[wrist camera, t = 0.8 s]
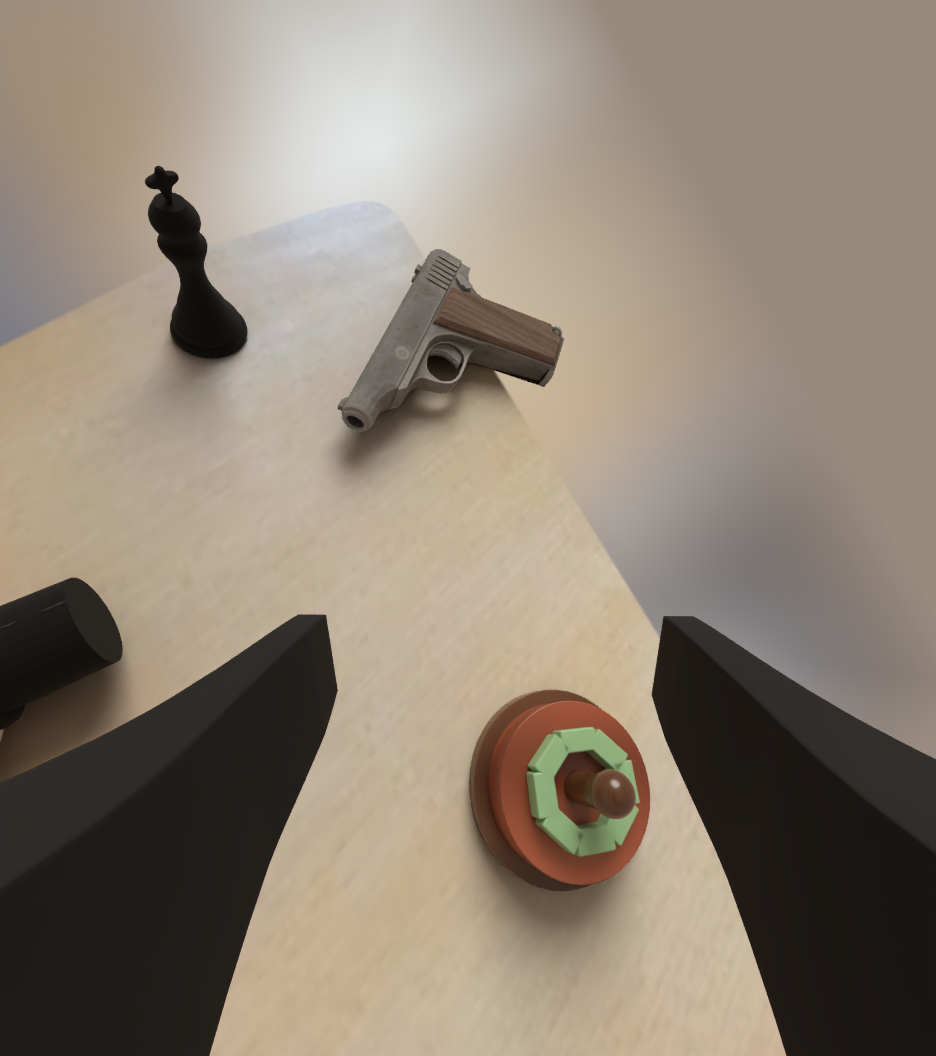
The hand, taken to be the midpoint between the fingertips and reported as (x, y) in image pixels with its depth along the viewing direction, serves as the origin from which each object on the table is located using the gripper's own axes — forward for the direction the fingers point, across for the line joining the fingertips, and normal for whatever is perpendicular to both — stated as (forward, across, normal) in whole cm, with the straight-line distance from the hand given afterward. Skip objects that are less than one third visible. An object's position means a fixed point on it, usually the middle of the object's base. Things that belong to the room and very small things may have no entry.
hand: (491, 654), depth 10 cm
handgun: (+26, -4, -1) cm, 27 cm away
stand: (+10, -3, +15) cm, 19 cm away
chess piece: (+24, +18, -7) cm, 31 cm away
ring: (+8, -4, +13) cm, 16 cm away
